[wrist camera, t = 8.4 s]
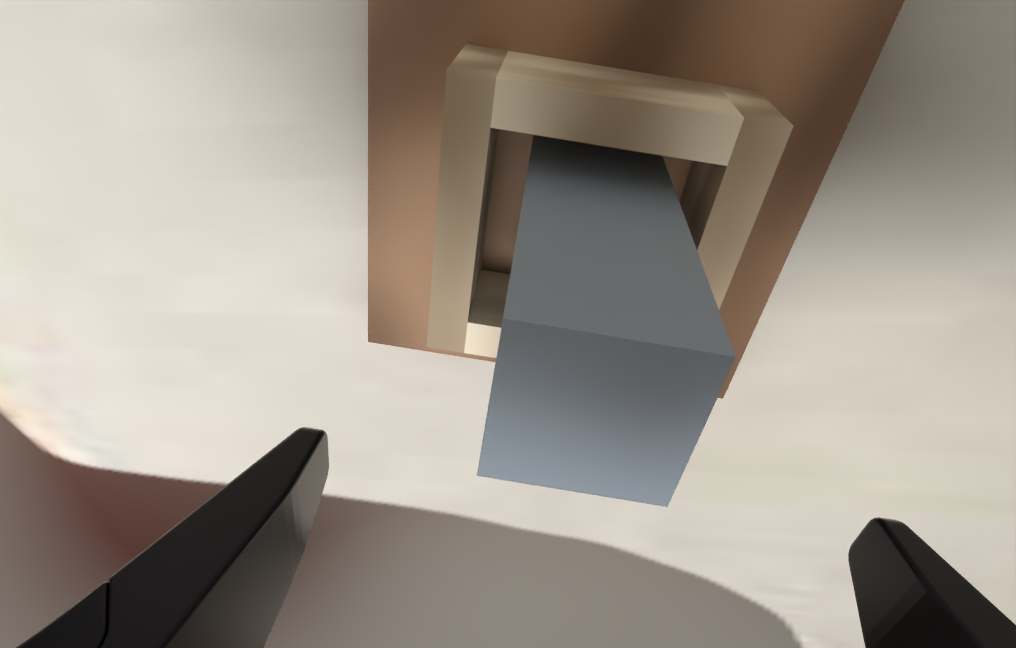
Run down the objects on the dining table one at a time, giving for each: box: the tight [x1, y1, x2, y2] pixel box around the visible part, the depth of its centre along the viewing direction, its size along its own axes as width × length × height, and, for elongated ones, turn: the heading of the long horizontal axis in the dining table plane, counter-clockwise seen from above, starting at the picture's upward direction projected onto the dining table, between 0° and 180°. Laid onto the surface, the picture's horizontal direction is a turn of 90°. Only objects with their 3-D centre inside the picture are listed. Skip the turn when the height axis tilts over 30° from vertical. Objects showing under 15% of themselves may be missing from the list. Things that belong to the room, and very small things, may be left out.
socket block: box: [368, 0, 904, 398], centre depth 19 cm, size 14×14×4 cm
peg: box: [477, 135, 736, 507], centre depth 15 cm, size 4×4×10 cm
